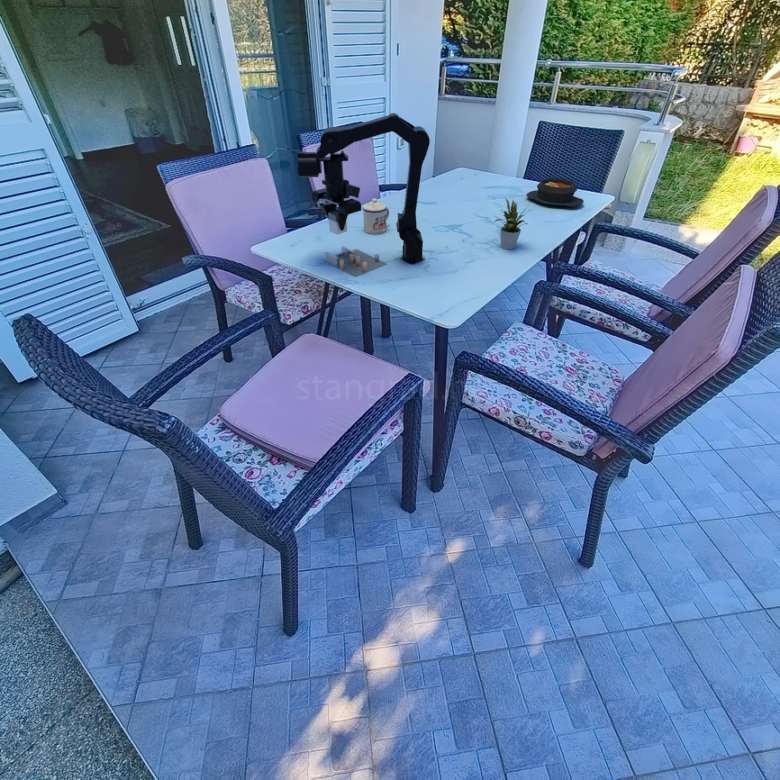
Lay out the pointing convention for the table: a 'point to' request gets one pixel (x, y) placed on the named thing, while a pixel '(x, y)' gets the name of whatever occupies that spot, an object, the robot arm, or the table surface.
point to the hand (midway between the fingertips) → (338, 228)
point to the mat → (364, 257)
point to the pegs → (357, 261)
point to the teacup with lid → (375, 217)
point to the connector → (335, 224)
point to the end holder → (334, 258)
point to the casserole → (556, 192)
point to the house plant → (510, 226)
